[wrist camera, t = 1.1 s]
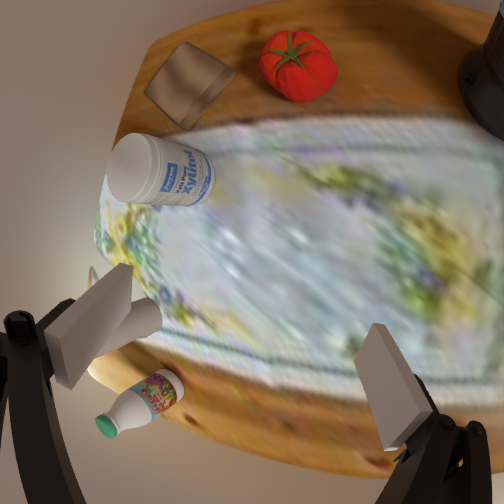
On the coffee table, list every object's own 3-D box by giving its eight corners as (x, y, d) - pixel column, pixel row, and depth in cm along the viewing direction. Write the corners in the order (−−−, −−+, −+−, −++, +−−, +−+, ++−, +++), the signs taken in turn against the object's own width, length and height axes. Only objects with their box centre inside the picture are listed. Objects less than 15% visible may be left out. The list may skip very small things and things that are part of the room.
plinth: (195, 47, 43) (183, 38, 39) (237, 73, 40) (226, 63, 37) (155, 98, 48) (141, 92, 44) (190, 130, 45) (175, 125, 42)
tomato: (275, 53, 37) (253, 25, 29) (343, 53, 33) (333, 21, 25) (267, 109, 39) (241, 87, 31) (339, 113, 35) (328, 87, 27)
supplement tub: (222, 196, 44) (158, 190, 31) (177, 213, 48) (110, 214, 35) (210, 141, 44) (147, 118, 31) (167, 162, 48) (102, 150, 35)
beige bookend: (119, 317, 59) (46, 343, 41) (150, 292, 53) (65, 319, 35) (133, 345, 58) (62, 377, 40) (168, 324, 52) (85, 362, 34)
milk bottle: (174, 402, 55) (111, 449, 37) (152, 376, 57) (85, 416, 38) (191, 390, 52) (123, 442, 34) (167, 361, 54) (94, 405, 36)
